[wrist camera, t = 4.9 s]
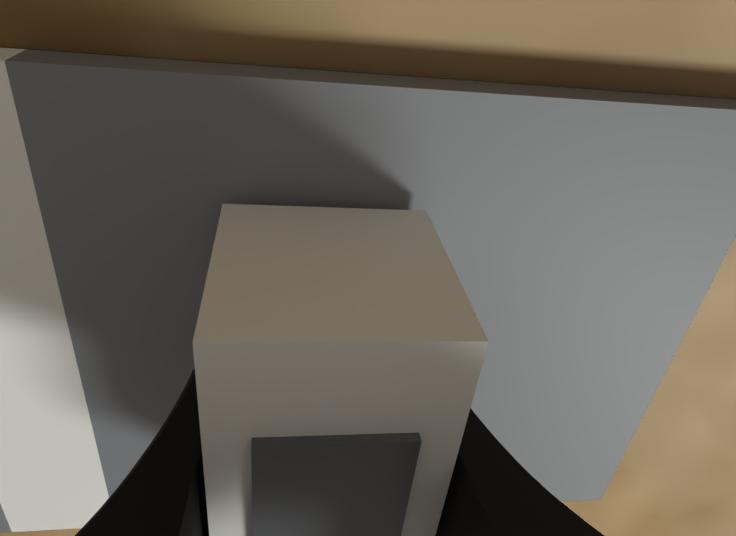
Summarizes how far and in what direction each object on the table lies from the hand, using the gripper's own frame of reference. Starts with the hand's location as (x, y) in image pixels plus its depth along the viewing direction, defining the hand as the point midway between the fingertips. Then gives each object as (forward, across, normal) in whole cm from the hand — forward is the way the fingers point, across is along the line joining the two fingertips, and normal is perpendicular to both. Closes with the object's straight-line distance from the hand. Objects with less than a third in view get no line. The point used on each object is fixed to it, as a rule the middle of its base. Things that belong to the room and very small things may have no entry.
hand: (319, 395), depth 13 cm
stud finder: (+1, 0, 0) cm, 1 cm away
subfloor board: (+2, +2, 0) cm, 3 cm away
